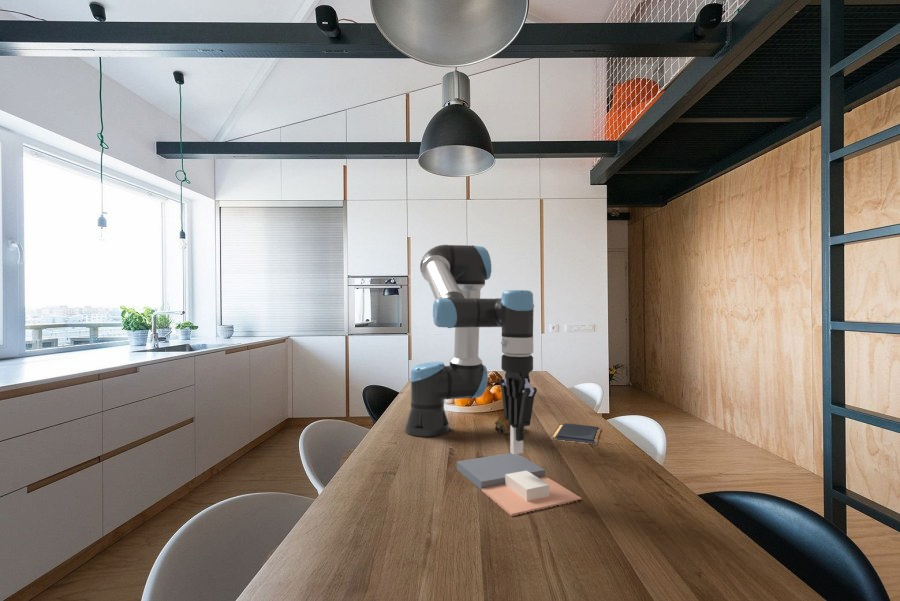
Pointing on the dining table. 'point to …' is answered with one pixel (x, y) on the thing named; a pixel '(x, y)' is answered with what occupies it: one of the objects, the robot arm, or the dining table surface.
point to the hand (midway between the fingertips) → (516, 452)
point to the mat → (519, 505)
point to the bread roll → (503, 425)
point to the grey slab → (496, 469)
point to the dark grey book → (576, 433)
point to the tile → (527, 485)
